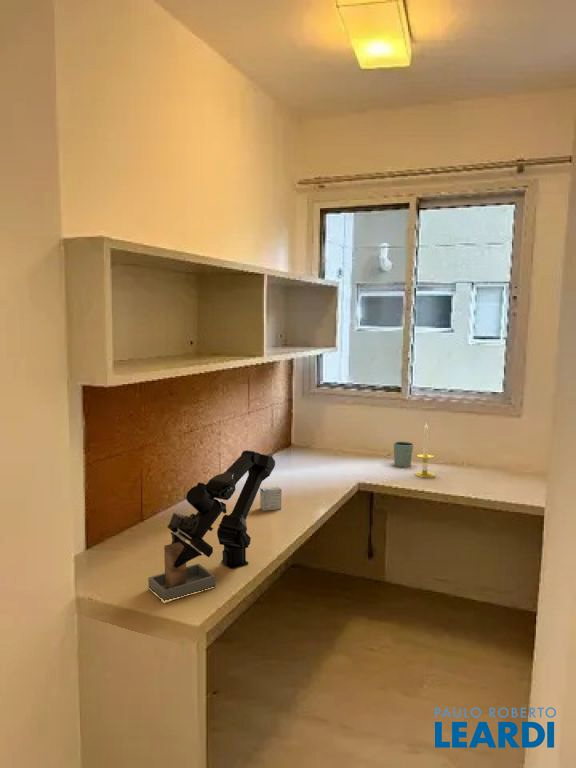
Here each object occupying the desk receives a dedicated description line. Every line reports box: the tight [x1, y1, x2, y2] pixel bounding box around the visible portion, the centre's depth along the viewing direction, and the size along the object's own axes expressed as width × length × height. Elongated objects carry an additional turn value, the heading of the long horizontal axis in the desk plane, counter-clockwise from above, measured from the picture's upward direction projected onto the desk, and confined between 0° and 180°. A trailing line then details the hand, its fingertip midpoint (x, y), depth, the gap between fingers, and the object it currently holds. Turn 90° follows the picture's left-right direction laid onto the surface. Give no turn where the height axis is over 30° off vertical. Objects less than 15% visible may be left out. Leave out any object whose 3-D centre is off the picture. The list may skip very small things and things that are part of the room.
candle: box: [414, 422, 436, 479], centre depth 282 cm, size 10×10×27 cm
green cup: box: [393, 440, 414, 468], centre depth 301 cm, size 10×10×12 cm
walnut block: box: [163, 542, 187, 589], centre depth 161 cm, size 4×4×12 cm
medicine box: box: [259, 485, 282, 512], centre depth 231 cm, size 8×4×9 cm, turn 111°
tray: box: [147, 563, 216, 601], centre depth 163 cm, size 16×10×4 cm, turn 127°
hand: (170, 563), depth 160 cm, fingers open, 5 cm apart
